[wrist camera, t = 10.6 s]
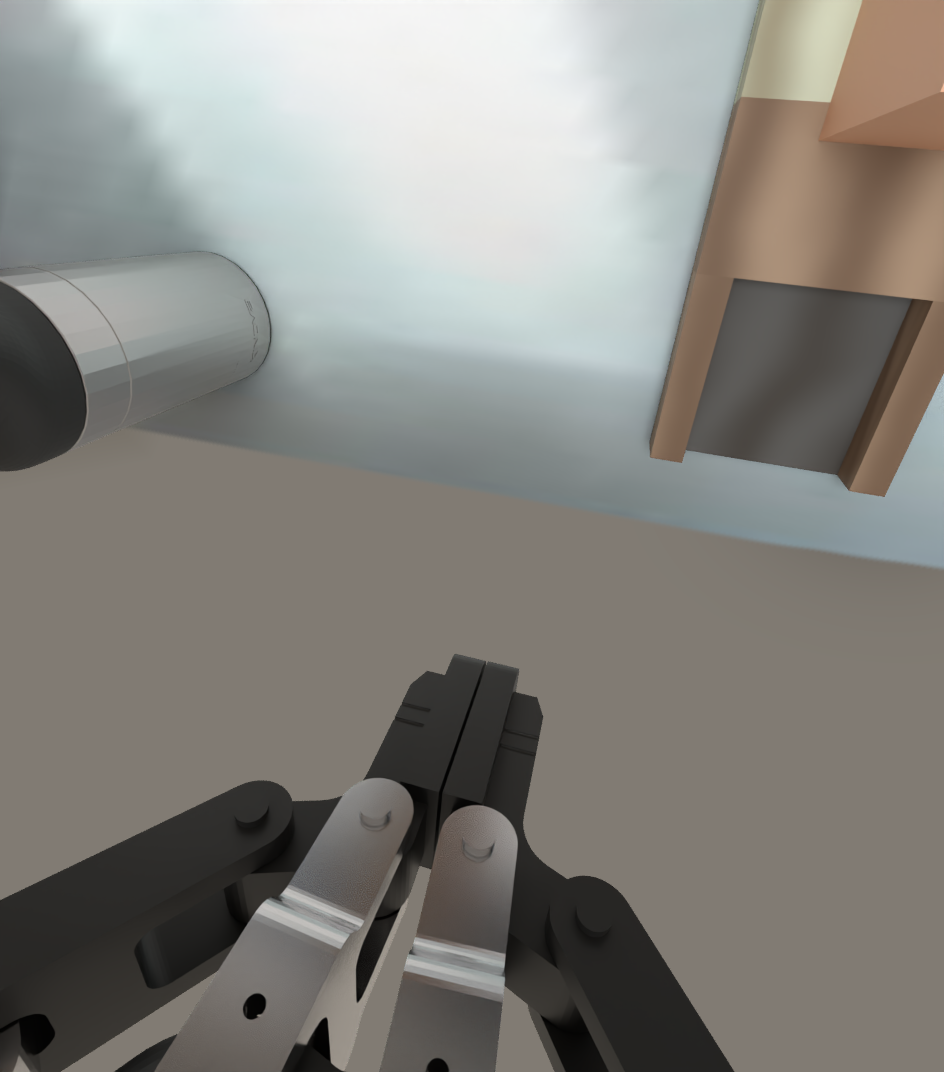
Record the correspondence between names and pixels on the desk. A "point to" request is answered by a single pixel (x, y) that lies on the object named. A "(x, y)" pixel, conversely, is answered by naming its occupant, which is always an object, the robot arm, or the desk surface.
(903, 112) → the block
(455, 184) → the desk surface
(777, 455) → the track
